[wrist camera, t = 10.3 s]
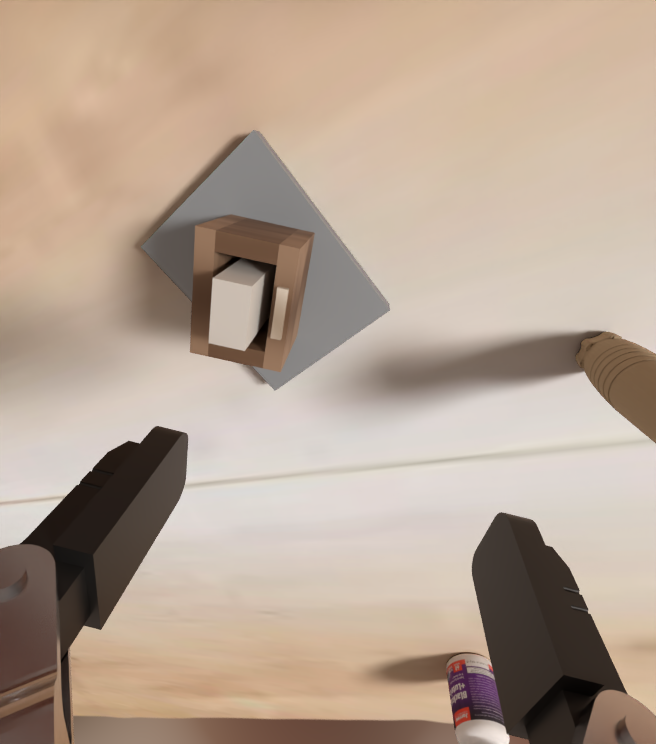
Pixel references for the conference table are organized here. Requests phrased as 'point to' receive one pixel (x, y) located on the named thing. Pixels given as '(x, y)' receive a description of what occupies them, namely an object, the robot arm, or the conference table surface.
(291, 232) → the open cubby box
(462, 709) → the pill bottle
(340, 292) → the base
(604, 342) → the handle
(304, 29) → the conference table surface
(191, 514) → the conference table surface
